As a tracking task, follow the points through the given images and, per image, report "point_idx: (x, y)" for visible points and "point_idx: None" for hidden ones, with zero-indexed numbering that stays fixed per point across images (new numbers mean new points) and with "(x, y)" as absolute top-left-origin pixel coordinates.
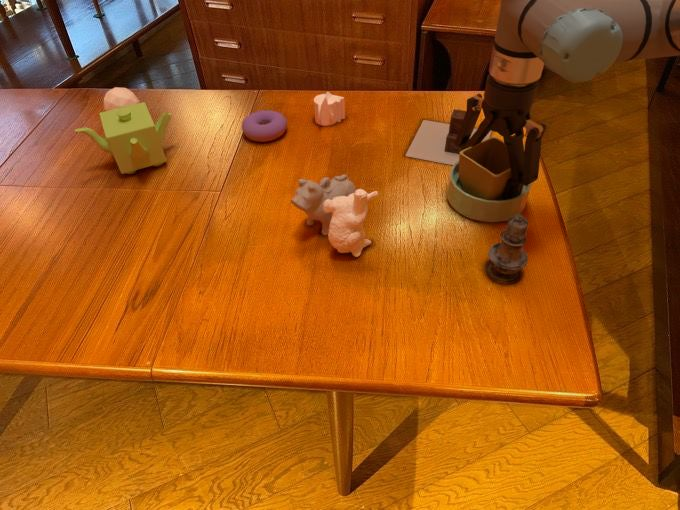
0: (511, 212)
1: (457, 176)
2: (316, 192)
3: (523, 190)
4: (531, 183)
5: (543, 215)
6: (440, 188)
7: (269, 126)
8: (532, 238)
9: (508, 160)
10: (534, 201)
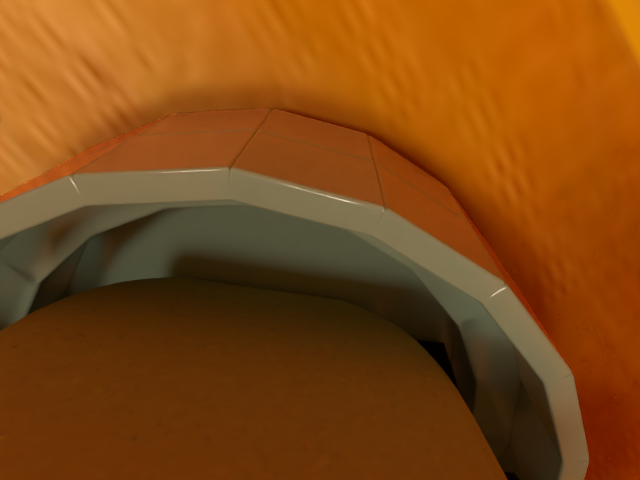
0: None
1: None
2: None
3: (474, 303)
4: (572, 387)
5: (629, 246)
6: None
7: None
8: (625, 424)
9: (225, 464)
10: (524, 160)
